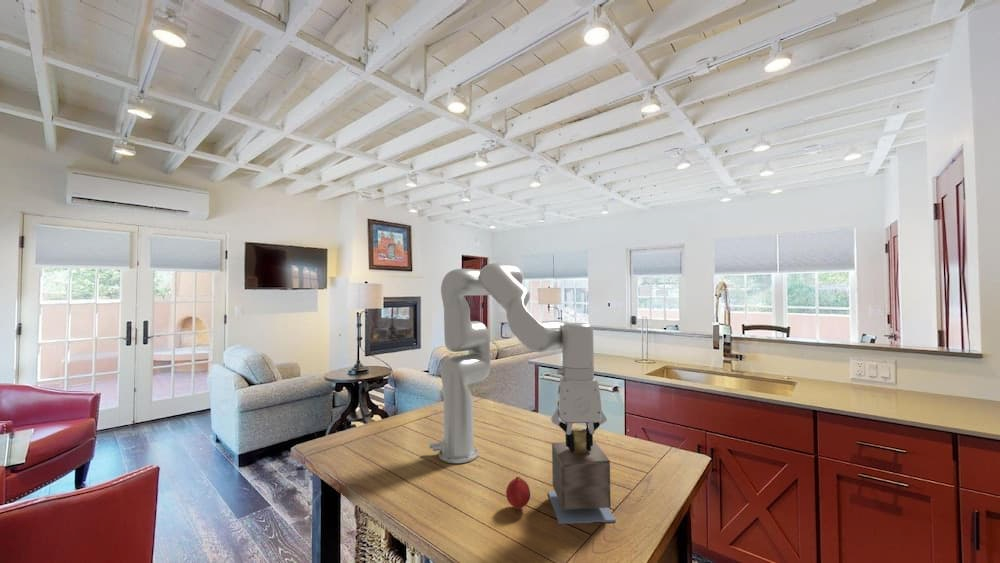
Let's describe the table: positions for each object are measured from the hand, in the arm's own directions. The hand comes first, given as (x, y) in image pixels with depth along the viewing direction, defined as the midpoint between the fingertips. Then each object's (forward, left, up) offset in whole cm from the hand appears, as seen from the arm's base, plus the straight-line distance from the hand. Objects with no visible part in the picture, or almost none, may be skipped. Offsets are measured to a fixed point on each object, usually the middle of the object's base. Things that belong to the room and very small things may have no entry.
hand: (579, 448), depth 91 cm
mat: (0, 0, -14) cm, 14 cm away
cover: (0, 0, -11) cm, 11 cm away
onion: (-15, 0, -14) cm, 21 cm away
